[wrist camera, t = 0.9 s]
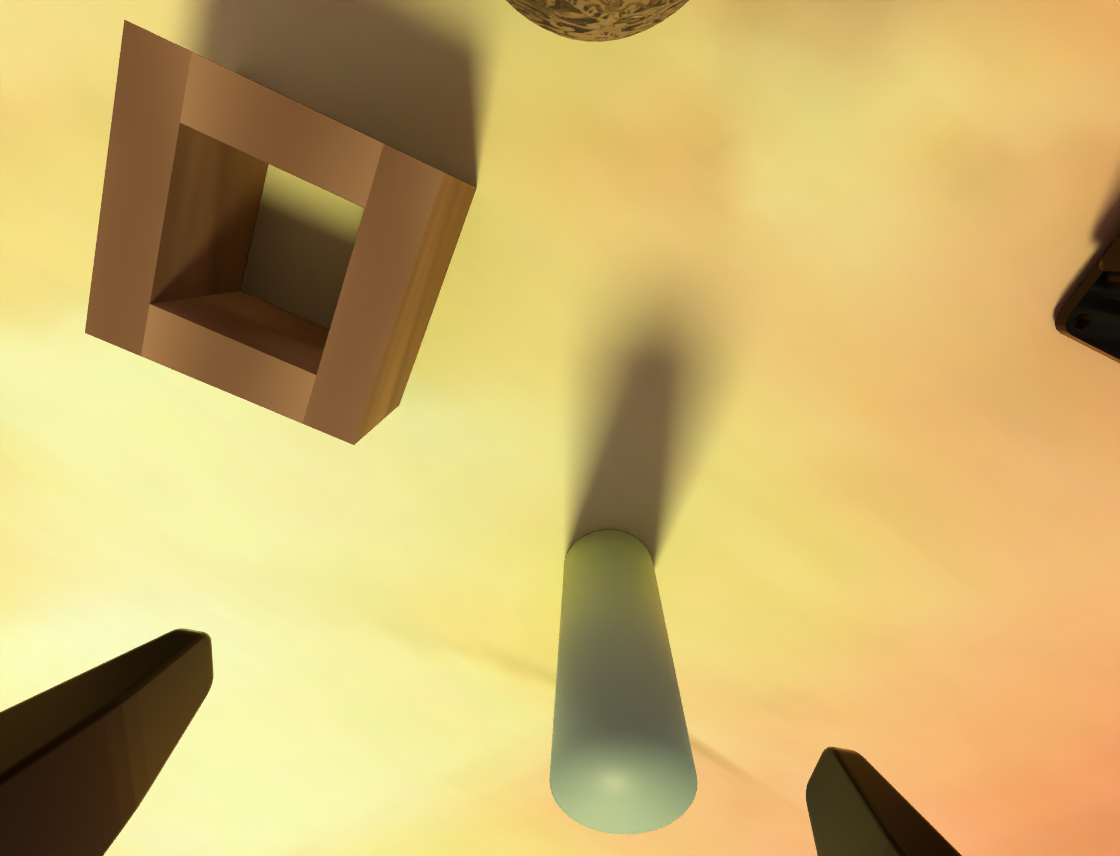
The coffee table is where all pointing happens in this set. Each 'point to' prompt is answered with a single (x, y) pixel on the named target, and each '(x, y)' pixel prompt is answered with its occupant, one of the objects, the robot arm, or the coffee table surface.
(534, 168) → the coffee table surface
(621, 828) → the dowel
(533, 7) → the cup
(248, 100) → the socket block
